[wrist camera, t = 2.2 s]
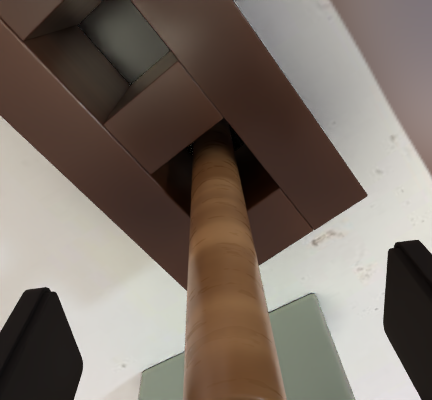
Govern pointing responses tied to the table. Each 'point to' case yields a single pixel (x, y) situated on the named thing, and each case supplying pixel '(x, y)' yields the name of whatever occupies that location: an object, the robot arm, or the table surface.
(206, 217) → the stirring stick
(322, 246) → the table surface
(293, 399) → the planter
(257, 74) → the holder
